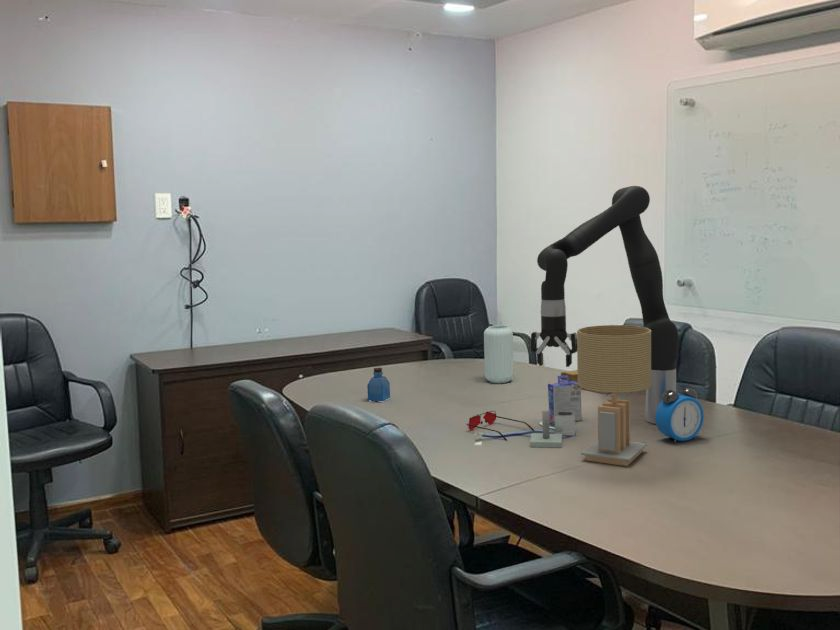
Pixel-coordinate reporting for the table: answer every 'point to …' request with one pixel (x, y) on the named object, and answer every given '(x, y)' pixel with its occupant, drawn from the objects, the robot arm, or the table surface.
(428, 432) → the table surface
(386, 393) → the perfume bottle
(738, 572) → the table surface
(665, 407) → the alarm clock
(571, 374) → the book
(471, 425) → the glasses
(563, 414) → the grey hollow cube
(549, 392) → the ink cartridge box
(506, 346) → the vase
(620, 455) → the desk lamp
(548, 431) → the shaft block
